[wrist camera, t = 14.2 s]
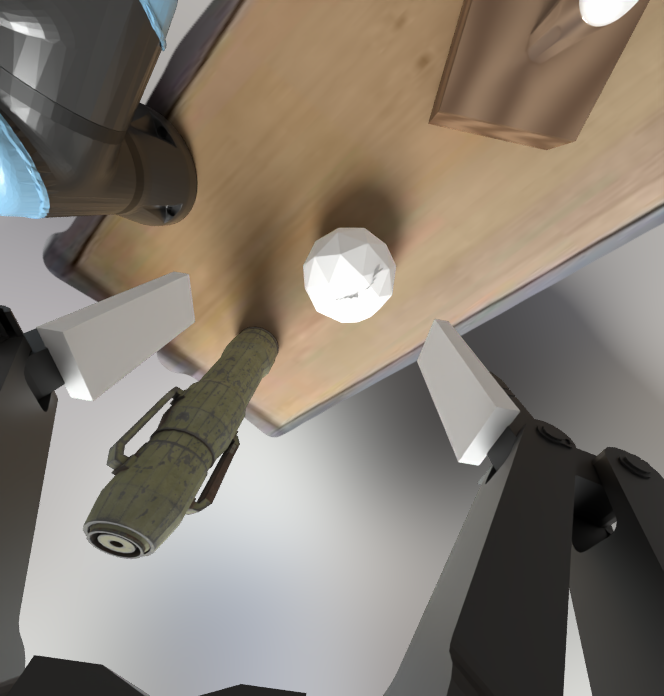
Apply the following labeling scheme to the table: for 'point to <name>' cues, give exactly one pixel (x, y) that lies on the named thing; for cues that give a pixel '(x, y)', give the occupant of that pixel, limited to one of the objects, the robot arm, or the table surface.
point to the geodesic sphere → (349, 274)
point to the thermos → (179, 452)
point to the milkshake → (572, 25)
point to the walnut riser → (524, 74)
